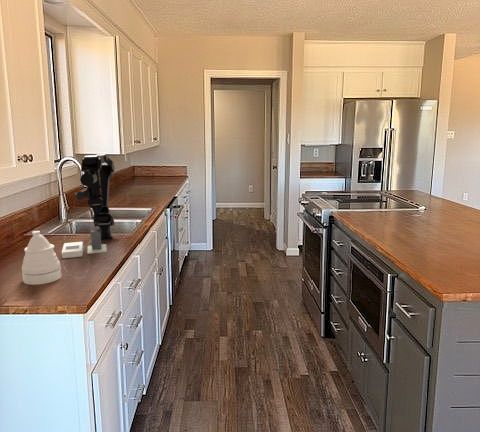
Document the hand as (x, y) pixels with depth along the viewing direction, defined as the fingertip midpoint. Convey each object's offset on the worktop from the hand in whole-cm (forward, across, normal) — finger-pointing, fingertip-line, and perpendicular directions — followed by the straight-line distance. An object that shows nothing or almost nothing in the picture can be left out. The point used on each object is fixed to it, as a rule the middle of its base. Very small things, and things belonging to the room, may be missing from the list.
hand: (96, 217), depth 203 cm
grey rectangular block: (+12, +9, -1) cm, 15 cm away
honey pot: (+13, +42, -20) cm, 48 cm away
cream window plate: (+13, +10, -11) cm, 20 cm away
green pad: (+13, +9, -1) cm, 16 cm away
